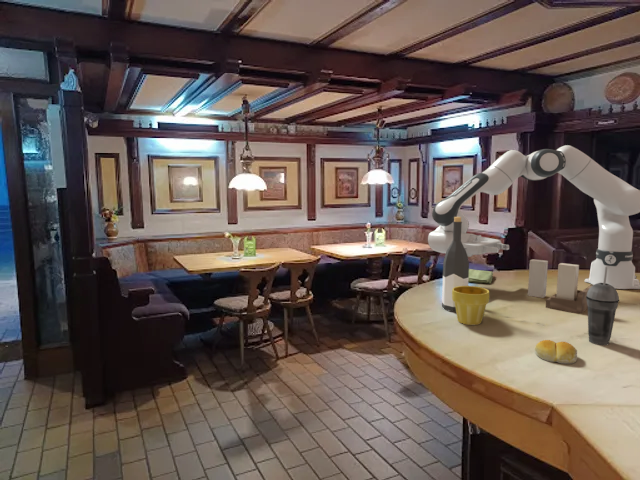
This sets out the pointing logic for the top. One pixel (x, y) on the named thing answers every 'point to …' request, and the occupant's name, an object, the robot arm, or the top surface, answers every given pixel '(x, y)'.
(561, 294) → the clay strip
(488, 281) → the washcloth
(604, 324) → the beverage cup
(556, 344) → the bread roll
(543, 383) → the top surface
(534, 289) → the clay strip
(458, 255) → the wine bottle
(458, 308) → the plant pot
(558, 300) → the wooden divided tray
